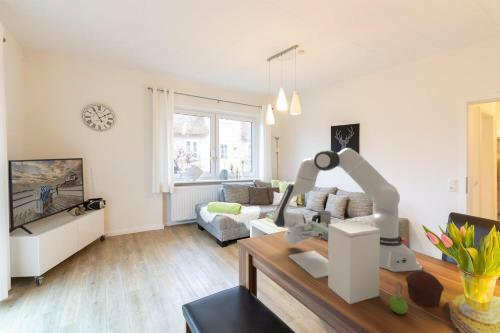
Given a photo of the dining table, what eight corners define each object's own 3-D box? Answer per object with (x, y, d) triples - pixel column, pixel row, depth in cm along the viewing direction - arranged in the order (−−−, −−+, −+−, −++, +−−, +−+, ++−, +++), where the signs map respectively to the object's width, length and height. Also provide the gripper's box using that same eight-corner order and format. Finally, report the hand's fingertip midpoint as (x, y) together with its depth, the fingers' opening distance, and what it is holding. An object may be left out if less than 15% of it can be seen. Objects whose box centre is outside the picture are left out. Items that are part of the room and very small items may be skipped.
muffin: (401, 288, 94) (401, 264, 93) (434, 293, 91) (435, 268, 90) (411, 307, 83) (412, 280, 82) (449, 313, 79) (450, 285, 79)
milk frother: (322, 230, 166) (322, 209, 165) (342, 236, 154) (343, 213, 153) (309, 235, 157) (309, 213, 157) (330, 241, 145) (330, 218, 144)
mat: (288, 256, 125) (288, 255, 125) (314, 251, 130) (314, 250, 130) (315, 278, 102) (315, 277, 102) (345, 272, 108) (345, 270, 108)
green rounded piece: (388, 315, 79) (388, 280, 78) (389, 305, 84) (390, 272, 83) (407, 321, 76) (408, 285, 75) (407, 310, 81) (408, 277, 80)
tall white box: (328, 286, 96) (328, 224, 95) (355, 280, 101) (355, 220, 100) (349, 304, 85) (350, 233, 83) (378, 295, 90) (380, 228, 88)
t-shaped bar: (303, 228, 117) (303, 222, 117) (317, 226, 120) (317, 220, 120) (327, 240, 101) (327, 233, 100) (342, 237, 103) (342, 231, 103)
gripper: (283, 228, 124) (295, 221, 112) (316, 223, 131) (330, 217, 119) (286, 240, 121) (298, 234, 110) (319, 235, 128) (334, 229, 117)
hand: (315, 225), depth 115 cm, fingers closed on t-shaped bar, 3 cm apart
